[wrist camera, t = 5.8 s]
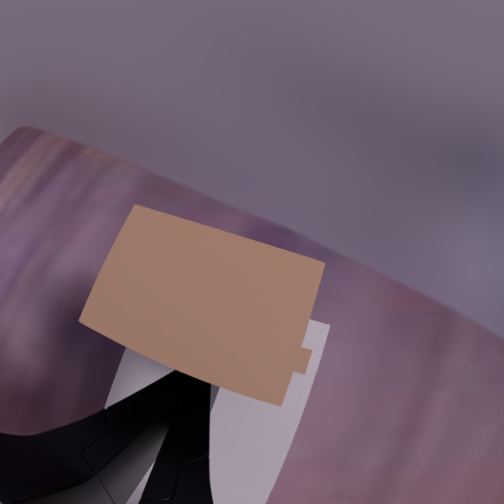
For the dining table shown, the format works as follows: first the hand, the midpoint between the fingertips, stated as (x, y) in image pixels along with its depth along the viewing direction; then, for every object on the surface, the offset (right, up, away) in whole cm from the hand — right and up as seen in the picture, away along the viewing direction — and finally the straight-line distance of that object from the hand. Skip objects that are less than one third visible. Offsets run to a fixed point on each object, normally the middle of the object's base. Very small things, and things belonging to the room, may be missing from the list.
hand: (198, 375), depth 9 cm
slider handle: (+1, 0, +4) cm, 4 cm away
